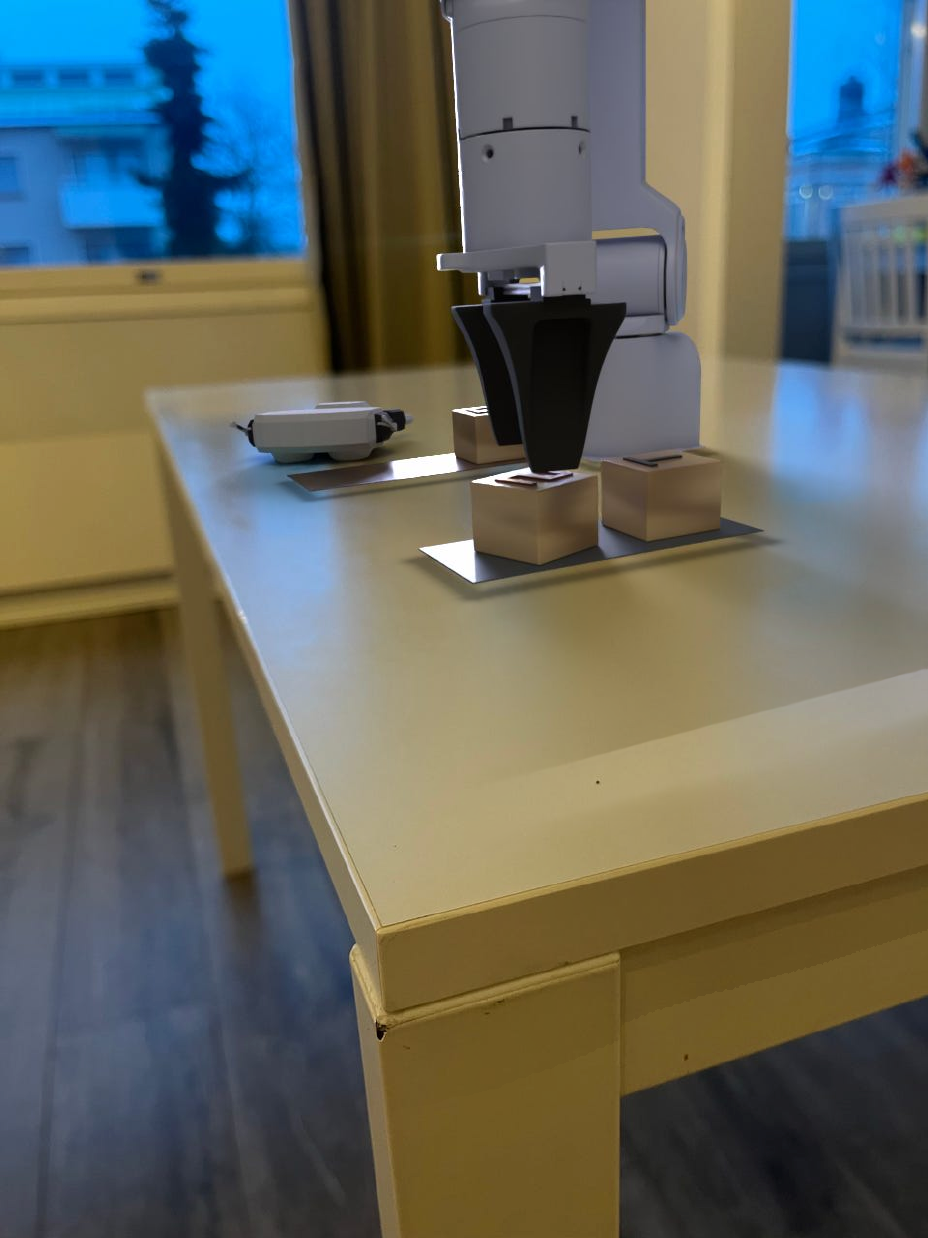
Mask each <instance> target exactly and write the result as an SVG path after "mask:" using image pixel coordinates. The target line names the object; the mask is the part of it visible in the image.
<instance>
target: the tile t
mask: <svg viewBox="0 0 928 1238" xmlns="http://www.w3.org/2000/svg"><path fill="white" fill-rule="evenodd" d="M722 482H723V461H722V460H720V459H715V458H711V457H706V456H703V455H702V456H701V455H698V454H693V453H688V452H683V451H676V450H664V451H657V452H650V453H643V454H635V455H628V456H621V457H614V458H606V459H602V460H601V462H600V503H601V504H600V507H601V510H600V512H601V513H600V514H601V515H600V517H601V518H600V519H601V523H602V525H605V526H607V527H610V528H612V529H615V530H618V531H620V532H623V533H625V534H628V535H630V536H633V537H636V538H638V539H641V540H643V541H646V542H650V541H655V540H661V539H667V538H672V537H678V536H684V535H689V534H695V533H701V532H706V531H712V530H718V529H720V519H721V517H722V516H721V514H722V490H723V489H722V487H723V486H722V485H723V483H722Z"/></svg>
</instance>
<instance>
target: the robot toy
mask: <svg viewBox="0 0 928 1238" xmlns="http://www.w3.org/2000/svg"><path fill="white" fill-rule="evenodd" d="M414 421H415V417H414V415H413V414H408V413H405V411H404V410H402V409H400V408H392V409H382V407H379V406H378V407H376V406H374V407H373V406H371V405H370V404H369V403H368V402H367V401H363V400H362V401H361V400H360V401H359V400H358V401H339V402H338V401H336V402H322V403H318V404H317V405H316V406H315V407H314V408H312V409H311V408H310V409H294V410H293V409H292V410H279V411H278V410H277V411H267V412H262V413H257V414H254V418H253V419H250V421H249V422H248V424H247V425H246V426H247V427H246V428H245V427H244V426H242V425H240V424H238V423H237V422H236V421H233V420H232V421H231V420H230V421H229V427H230V428H232V429H233V428H234V429H236V430H238V431H240V432H242V433H244V435H245V436H246V437H247V439H248V442H249V444H250V445H251V447H254V448H256V450H257V451H258V453H261V454H270V455H271V456H272V457H273V458H274V460H275V461H277V462H279V463H299V462H305V461H308V460H311V459H312V458H313V457H314V456H315V454H316V453H327V454H329V456H330V457H331V458H332V459H333V460H336V461H356V460H363V459H366V458H368V457H369V456H370V454H371V453H372V451H373V449H375V448H378V447H380V446H382V445H384V442H386V441H388V440H390V439H391V437H392V435H393V434H394V433H397V432H401V431H403V430H405V429H406V426H407V425H410V424H413V423H414Z"/></svg>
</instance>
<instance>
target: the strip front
mask: <svg viewBox="0 0 928 1238" xmlns="http://www.w3.org/2000/svg"><path fill="white" fill-rule="evenodd" d="M762 532H765V530H764V529H761V528H758V527H755V526H751V525H749V524H745V523H742V522H738V521H735V520H732V519H729V518H726V517H722V516H721V519H720V529H718V530H712V531H706V532H701V533H695V534H689V535H684V536H678V537H672V538H667V539H661V540H655V541H650V542H646V541H643V540H641V539H638V538H636V537H633V536H630V535H628V534H625V533H623V532H620V531H618V530H615V529H612V528H610V527H607V526H605V525H602V523H601V518H599V544H598V545H597V546H594V547H591V548H588V549H585V550H583V551H580V552H577V553H574V554H571V555H568V556H565V557H562V558H560V559H557V560H554V561H551V562H548V563H545V564H542V565H535V564H530V563H526V562H521V561H517V560H512V559H508V558H503V557H499V556H494V555H490V554H485V553H481V552H476V551H474V544H473V539H467V540H462V541H456V542H450V543H449V542H448V543H443V544H438V545H431V546H424V547H419V548H418V551H420V552H422V553H423V554H424V555H426V556H427V557H429V558H431V559H433V560H434V561H435V562H437V563H438V564H440V565H442V566H444V567H445V568H447V569H448V570H450V571H451V572H452V573H454V574H456V575H457V576H459V577H461V578H462V579H464V580H465V581H467V582H469V583H470V584H471V585H477V584H483V583H487V582H492V581H499V580H504V579H508V578H514V577H515V578H516V577H520V576H525V575H531V574H535V573H543V572H547V571H553V570H558V569H563V568H569V567H575V566H579V565H580V566H581V565H586V564H591V563H596V562H603V561H609V560H613V559H614V560H615V559H619V558H623V557H630V556H634V555H641V554H645V553H651V552H657V551H662V550H663V551H664V550H668V549H673V548H674V549H675V548H679V547H684V546H690V545H695V544H696V545H697V544H701V543H707V542H712V541H718V540H722V539H723V540H724V539H728V538H729V539H730V538H734V537H738V536H739V537H740V536H745V535H751V534H757V533H762Z"/></svg>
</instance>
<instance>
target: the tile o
mask: <svg viewBox="0 0 928 1238" xmlns="http://www.w3.org/2000/svg"><path fill="white" fill-rule="evenodd" d="M451 419H452V433H453V448H454V449H453V450H454V451H453V454H454V453H455V456H456V457H459V458H461V459H464V460H467V461H470V462H473V463H475V464H485V463H492V462H500V461H507V460H515V459H522V458H526V455H525V451H524V447H523V444H520V445H508V446H498V445H497V443H496V441H495V438H494V435H493V432H492V428H491V425H490V421H489V417H488V413H487V408H486V406H479V407H478V406H477V407H469V408H461V409H453V410H451Z"/></svg>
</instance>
